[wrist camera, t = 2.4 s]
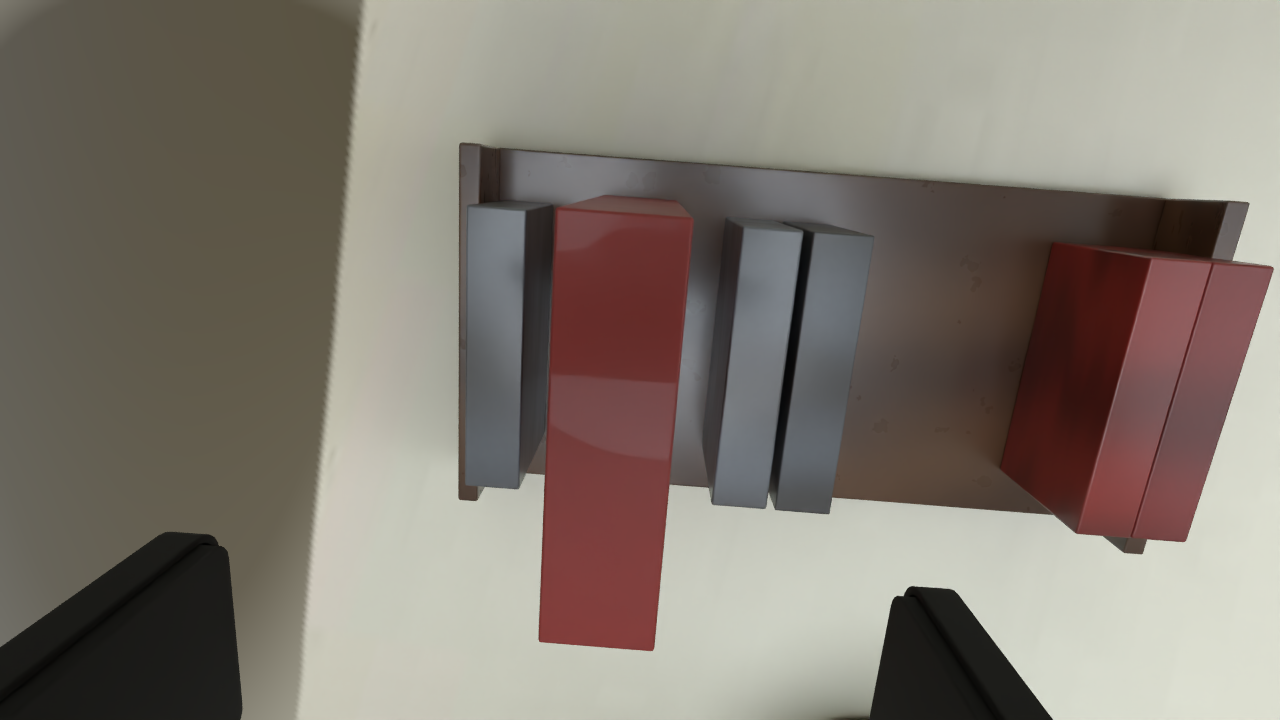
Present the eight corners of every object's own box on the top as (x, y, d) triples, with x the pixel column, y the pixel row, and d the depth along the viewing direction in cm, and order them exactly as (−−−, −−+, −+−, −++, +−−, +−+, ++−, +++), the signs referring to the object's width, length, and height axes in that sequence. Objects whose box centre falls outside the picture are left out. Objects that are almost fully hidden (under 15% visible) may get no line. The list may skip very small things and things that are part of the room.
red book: (603, 194, 27) (555, 207, 14) (677, 200, 27) (694, 217, 14) (588, 447, 30) (537, 643, 17) (655, 453, 30) (653, 652, 17)
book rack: (486, 147, 27) (434, 137, 21) (1167, 199, 27) (1322, 204, 21) (482, 461, 31) (437, 533, 25) (1082, 508, 31) (1192, 593, 25)
